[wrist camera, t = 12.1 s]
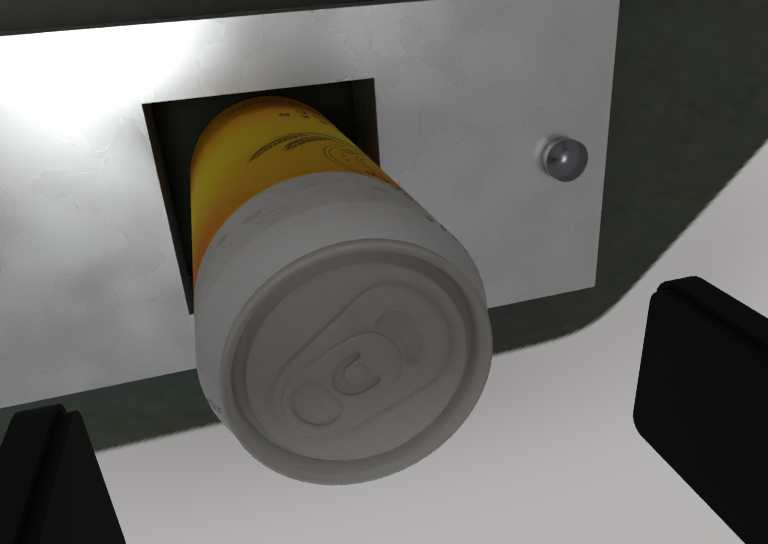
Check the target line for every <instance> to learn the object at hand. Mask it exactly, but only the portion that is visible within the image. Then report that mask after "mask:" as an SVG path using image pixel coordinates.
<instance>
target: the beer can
mask: <svg viewBox="0 0 768 544" xmlns="http://www.w3.org/2000/svg"><path fill="white" fill-rule="evenodd" d="M190 188H191V221H192V255H193V289H194V323H195V354H196V366H197V372H198V376H199V380H200V384H201V387H202V389H203V392H204V395H205V397H206V399H207V401H208V403H209V404H210V406H211V408H212V410H213V411H214V413H215V414H216V415H217V417H218V418H219V419H220V421H221V422H222V423H223V424H224V425H225V426H226V427H227V428H228V429H229V430H230V431H231V432H232V433H233V434H234V435H235V436H236V438H237V439H238V440H239V441H240V443H241V444H242V446H243V447H244V448H245V449H246V450H247V451H248V452H249V453H250V454H251V455H252V456H253V457H254V458H255V459H257V460H258V461H259V462H261V463H262V464H263V465H265V466H266V467H268V468H270V469H272V470H273V471H275V472H277V473H280V474H282V475H284V476H286V477H289V478H292V479H295V480H299V481H302V482H308V483H314V484H322V485H348V484H356V483H363V482H367V481H372V480H376V479H379V478H382V477H385V476H389V475H391V474H394V473H396V472H399V471H401V470H403V469H405V468H407V467H409V466H411V465H413V464H415V463H417V462H418V461H420V460H422V459H423V458H425V457H426V456H428V455H429V454H431V453H432V452H433V451H435V450H436V449H437V448H439V447H440V446H441V445H442V444H443V443H444V442H445V441H447V440H448V439H449V438H450V437H451V436H452V435H453V434H454V433H455V432H456V431H457V430H458V428H459V427H460V426H461V425H462V424H463V423H464V421H465V420H466V419H467V417H468V416H469V414H470V413H471V411H472V410H473V408H474V407H475V405H476V403H477V401H478V399H479V397H480V395H481V393H482V391H483V389H484V386H485V384H486V381H487V378H488V374H489V370H490V366H491V360H492V350H493V338H492V330H491V324H490V320H489V316H488V313H487V300H486V293H485V289H484V286H483V282H482V279H481V276H480V274H479V271H478V269H477V267H476V265H475V263H474V261H473V260H472V258H471V256H470V254H469V253H468V252H467V250H466V249H465V248H464V247H463V245H462V244H461V243H460V242H459V241H458V240H457V239H456V238H455V237H454V236H453V235H452V234H451V233H450V232H449V231H448V230H447V229H446V228H445V227H444V226H443V225H441V224H440V223H439V222H438V221H437V220H436V219H435V218H434V217H433V216H432V215H431V214H430V213H428V212H427V211H426V210H425V209H424V208H423V207H422V206H421V205H420V204H419V203H418V202H416V201H415V200H414V199H413V198H412V197H411V196H410V195H409V194H408V193H407V192H406V191H405V190H403V189H402V188H401V187H400V186H399V185H398V184H397V183H396V182H395V181H394V180H393V179H392V178H390V177H389V176H388V175H387V174H386V173H385V172H384V171H383V170H382V169H381V168H380V167H378V166H377V165H376V164H375V163H374V162H373V161H372V160H371V159H370V158H369V157H368V156H367V155H365V154H364V153H363V152H362V151H361V150H360V149H359V148H358V147H357V146H356V145H355V144H353V143H352V142H351V141H350V140H349V139H348V138H347V137H346V136H345V135H344V134H343V133H342V132H340V131H339V130H338V129H337V128H336V127H335V126H334V125H333V124H332V123H331V122H330V121H329V120H327V119H326V118H325V117H324V116H323V115H322V114H321V113H319V112H318V111H317V110H315V109H314V108H312V107H310V106H308V105H307V104H304V103H302V102H300V101H297V100H294V99H291V98H286V97H280V96H260V97H254V98H250V99H246V100H243V101H240V102H238V103H236V104H233V105H232V106H230V107H228V108H227V109H225V110H223V111H222V112H221V113H220V114H218V115H217V116H216V117H215V118H214V119H213V120H212V121H211V122H210V123H209V124H208V125H207V127H206V128H205V129H204V130H203V132H202V134H201V135H200V137H199V139H198V141H197V143H196V146H195V148H194V152H193V155H192V160H191V166H190Z"/></svg>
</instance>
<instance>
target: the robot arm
mask: <svg viewBox="0 0 768 544" xmlns="http://www.w3.org/2000/svg"><path fill="white" fill-rule="evenodd" d="M633 419H634V424H635V427H636V429H637V430H638V432H639V434H640V435H641V436H642V437H643V438H644V439H645V440H646V441H647V442H648V443H649V444H650V445H651V446H652V447H653V448H654V450H655V451H656V452H657V453H658V454H659V455H660V456H661V457H662V458H663V459H664V460H665V461H666V462H667V463H668V464H669V465H670V466H671V467H672V468H673V469H674V470H675V471H676V472H677V473H678V474H679V475H680V476H681V477H682V479H683V480H684V481H685V482H686V483H687V484H688V485H689V486H690V487H691V488H692V489H693V490H694V491H695V492H696V493H697V494H698V495H699V496H700V497H701V498H702V499H703V500H704V501H705V502H706V503H707V504H708V505H709V506H710V508H711V509H712V510H713V511H714V512H715V513H716V514H717V515H718V516H719V517H720V518H721V519H722V520H723V521H724V522H725V523H726V524H727V525H728V526H729V527H730V528H731V529H732V530H733V532H734V533H735V534H736V535H737V536H738V537H739V538H740V539H741V540H742V541H743V542H744V543H745V544H768V318H766V317H765V316H763V315H761V314H760V313H758V312H756V311H755V310H753V309H751V308H749V307H748V306H746V305H745V304H743V303H741V302H740V301H738V300H736V299H735V298H733V297H731V296H730V295H728V294H727V293H725V292H723V291H721V290H720V289H718V288H717V287H715V286H713V285H712V284H710V283H708V282H707V281H705V280H704V279H702V278H699V277H697V276H690V277H685V278H681V279H675V280H670V281H665V282H663V283H661V284H660V286H659V287H658V288H657V292H655V293H654V294H653V295H652V296H651V299H650V304H649V311H648V317H647V324H646V330H645V337H644V344H643V350H642V357H641V364H640V370H639V377H638V384H637V391H636V397H635V404H634V410H633ZM0 544H126V542H125V539H124V536H123V533H122V530H121V527H120V525H119V522H118V519H117V516H116V513H115V510H114V507H113V504H112V502H111V499H110V496H109V493H108V490H107V487H106V484H105V482H104V479H103V476H102V473H101V470H100V467H99V464H98V462H97V459H96V456H95V453H94V450H93V447H92V444H91V441H90V439H89V436H88V433H87V430H86V427H85V424H84V421H83V419H82V416H81V414H80V413H79V411H71V412H66V409H65V408H64V407H63V405H61V404H54V405H49V406H44V407H39V408H34V409H29V410H24V411H19V412H17V413H15V414H14V416H13V417H12V419H11V422H10V424H9V427H8V429H7V432H6V434H5V437H4V439H3V442H2V444H1V447H0Z"/></svg>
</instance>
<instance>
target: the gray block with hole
mask: <svg viewBox="0 0 768 544" xmlns="http://www.w3.org/2000/svg"><path fill="white" fill-rule="evenodd" d="M619 2H620V0H376V1H364V2H352V3H340V4H328V5H316V6H304V7H292V8H280V9H268V10H256V11H244V12H231V13H219V14H207V15H195V16H183V17H171V18H159V19H147V20H135V21H123V22H111V23H99V24H86V25H74V26H62V27H50V28H38V29H26V30H14V31H2V32H0V408H4V407H9V406H14V405H18V404H23V403H28V402H33V401H38V400H43V399H48V398H53V397H57V396H62V395H67V394H72V393H77V392H82V391H87V390H92V389H96V388H101V387H106V386H111V385H116V384H121V383H126V382H131V381H136V380H140V379H145V378H150V377H155V376H160V375H165V374H170V373H175V372H179V371H184V370H189V369H194V368H197V366H196V354H195V323H194V289H193V275H191V276H189V274H188V270H187V265H186V261H185V256H184V252H183V247H182V243H181V238H180V234H179V229H178V225H177V220H176V215H175V211H174V206H173V202H172V197H171V193H170V188H169V184H168V179H167V175H166V170H165V166H164V161H163V157H162V152H161V148H160V143H159V139H158V134H157V130H156V125H155V121H154V116H153V111H152V107H151V103H153V102H162V101H171V100H180V99H189V98H198V97H207V96H216V95H225V94H234V93H243V92H252V91H261V90H270V89H279V88H288V87H297V86H306V85H315V84H324V83H333V82H342V81H351V80H352V92H353V103H354V115H355V127H356V139H357V147H358V148H359V149H360V150H361V151H362V152H363V153H364V154H365V155H367V156H368V157H369V158H370V159H371V160H372V161H373V162H374V163H375V164H376V165H377V166H378V167H380V168H381V169H382V170H383V171H384V172H385V173H386V174H387V175H388V176H389V177H390V178H392V179H393V180H394V181H395V182H396V183H397V184H398V185H399V186H400V187H401V188H402V189H403V190H405V191H406V192H407V193H408V194H409V195H410V196H411V197H412V198H413V199H414V200H415V201H416V202H418V203H419V204H420V205H421V206H422V207H423V208H424V209H425V210H426V211H427V212H428V213H430V214H431V215H432V216H433V217H434V218H435V219H436V220H437V221H438V222H439V223H440V224H441V225H443V226H444V227H445V228H446V229H447V230H448V231H449V232H450V233H451V234H452V235H453V236H454V237H455V238H456V239H457V240H458V241H459V242H460V243H461V244H462V245H463V247H464V248H465V249H466V250H467V252H468V253H469V254H470V256H471V258H472V260H473V261H474V263H475V265H476V267H477V269H478V271H479V274H480V276H481V279H482V282H483V286H484V289H485V293H486V300H487V308H492V307H497V306H501V305H506V304H511V303H516V302H521V301H526V300H531V299H536V298H540V297H545V296H550V295H555V294H560V293H565V292H570V291H575V290H579V289H584V288H589V287H594V286H595V277H596V265H597V254H598V243H599V231H600V220H601V208H602V197H603V185H604V174H605V163H606V151H607V140H608V128H609V117H610V105H611V94H612V82H613V71H614V60H615V48H616V37H617V25H618V14H619Z"/></svg>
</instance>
